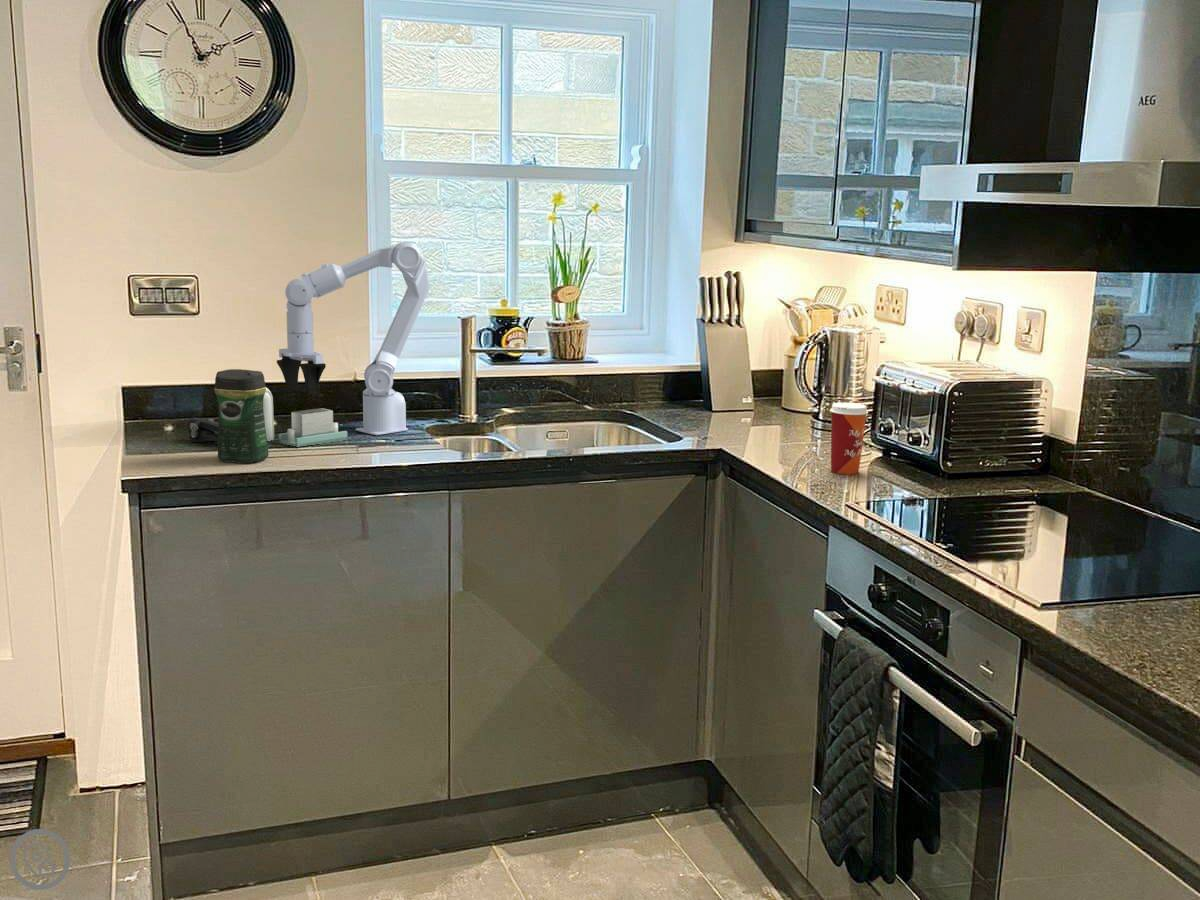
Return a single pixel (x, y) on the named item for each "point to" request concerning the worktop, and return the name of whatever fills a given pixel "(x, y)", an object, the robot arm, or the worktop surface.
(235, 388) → the coffee jar
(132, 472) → the worktop surface
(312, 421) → the light grey rectangular block
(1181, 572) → the worktop surface
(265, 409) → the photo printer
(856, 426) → the paper cup
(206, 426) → the can opener
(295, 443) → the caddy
